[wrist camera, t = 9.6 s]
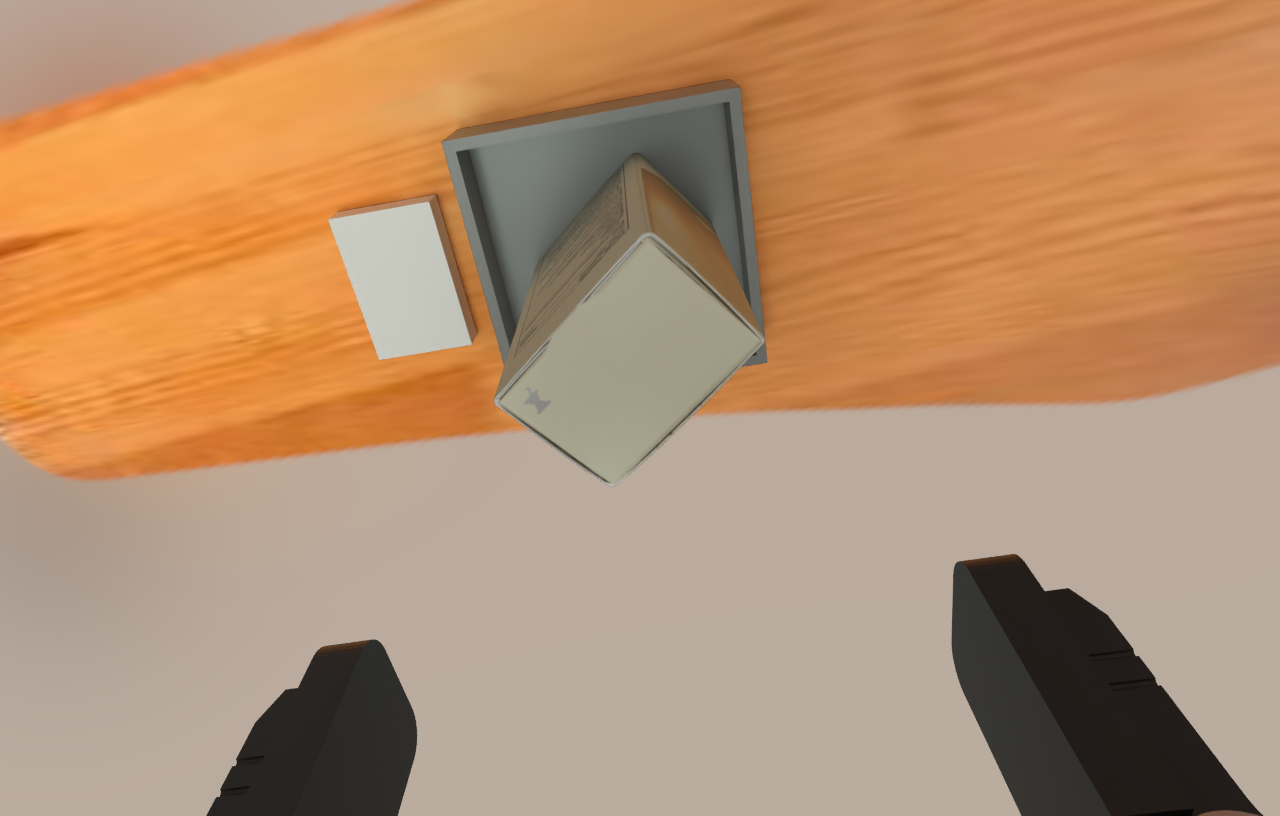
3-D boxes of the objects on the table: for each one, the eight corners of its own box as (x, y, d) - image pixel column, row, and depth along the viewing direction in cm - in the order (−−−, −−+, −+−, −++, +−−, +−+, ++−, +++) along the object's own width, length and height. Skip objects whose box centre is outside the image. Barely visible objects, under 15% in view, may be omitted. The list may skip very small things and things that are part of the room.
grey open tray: (730, 78, 28) (739, 86, 26) (756, 335, 33) (767, 362, 31) (318, 155, 29) (289, 169, 27) (403, 392, 34) (385, 423, 32)
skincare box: (613, 332, 32) (606, 502, 21) (532, 265, 31) (480, 411, 20) (721, 218, 30) (775, 344, 19) (639, 140, 28) (647, 228, 18)
